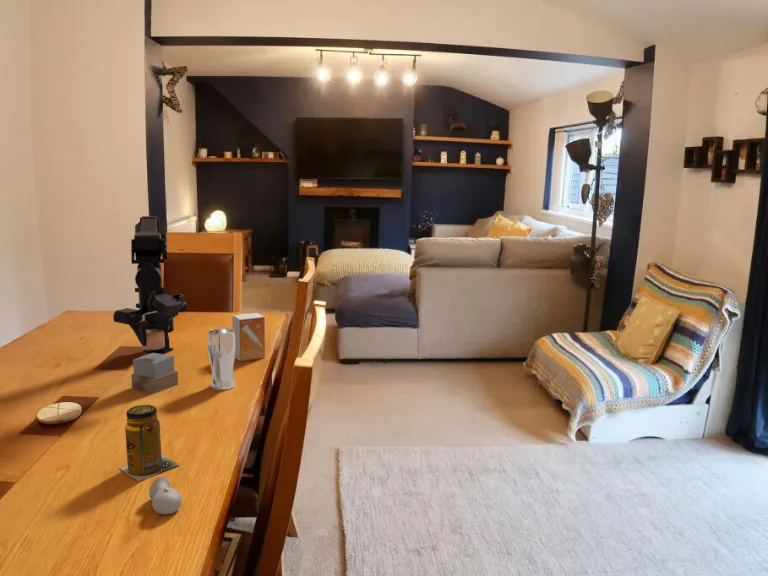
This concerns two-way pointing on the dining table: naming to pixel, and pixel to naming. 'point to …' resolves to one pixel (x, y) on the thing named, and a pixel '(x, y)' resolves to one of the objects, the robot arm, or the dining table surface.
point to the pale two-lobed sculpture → (164, 496)
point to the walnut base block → (155, 382)
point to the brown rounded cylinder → (154, 339)
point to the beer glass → (222, 357)
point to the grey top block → (153, 365)
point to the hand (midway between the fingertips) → (153, 343)
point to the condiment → (144, 443)
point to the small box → (249, 336)
